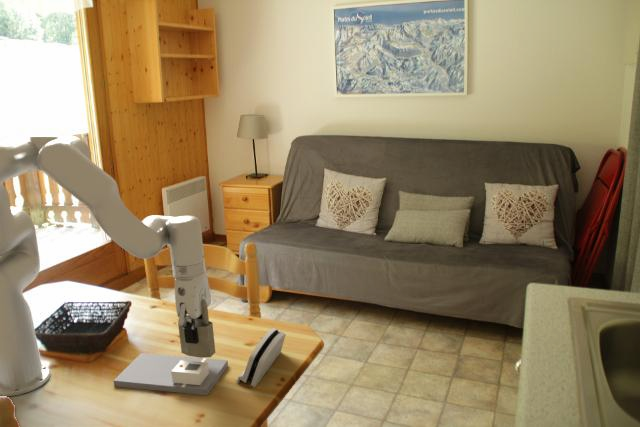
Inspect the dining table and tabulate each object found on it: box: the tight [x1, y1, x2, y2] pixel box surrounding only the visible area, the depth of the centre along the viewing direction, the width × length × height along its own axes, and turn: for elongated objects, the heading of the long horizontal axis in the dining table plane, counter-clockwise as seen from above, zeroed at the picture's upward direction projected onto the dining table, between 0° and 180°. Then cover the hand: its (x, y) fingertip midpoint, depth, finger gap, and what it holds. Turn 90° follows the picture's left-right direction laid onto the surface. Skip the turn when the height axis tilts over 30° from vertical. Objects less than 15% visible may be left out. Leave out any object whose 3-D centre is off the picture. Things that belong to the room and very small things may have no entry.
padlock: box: [177, 299, 216, 358], centre depth 135 cm, size 4×8×15 cm, turn 71°
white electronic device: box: [171, 360, 209, 385], centre depth 131 cm, size 7×5×3 cm
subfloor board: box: [113, 352, 229, 396], centre depth 136 cm, size 24×13×2 cm, turn 78°
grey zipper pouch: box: [236, 327, 286, 387], centre depth 137 cm, size 17×5×10 cm, turn 162°
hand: (196, 336), depth 135 cm, fingers closed on padlock, 4 cm apart
